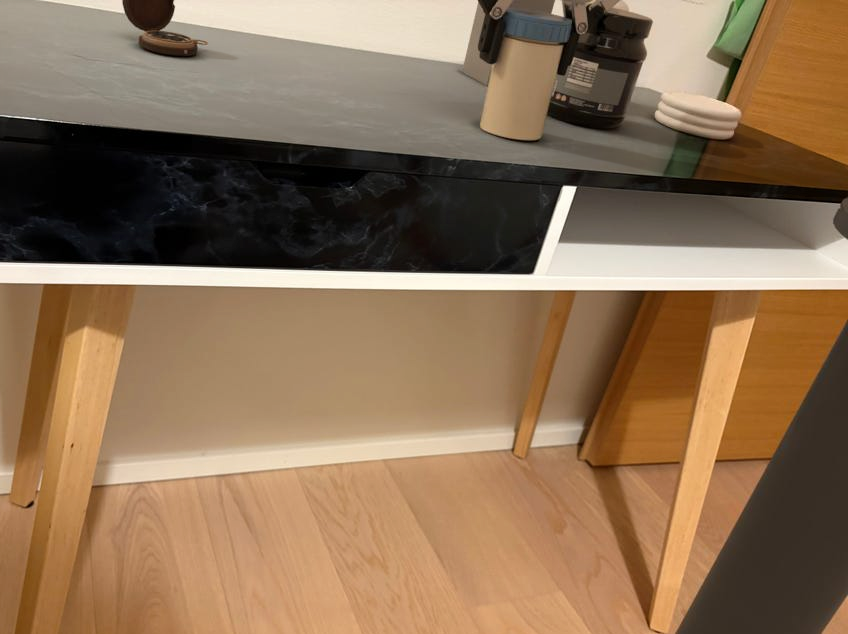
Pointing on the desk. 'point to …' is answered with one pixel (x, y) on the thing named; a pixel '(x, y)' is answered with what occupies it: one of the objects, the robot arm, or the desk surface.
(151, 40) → the compass
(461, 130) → the desk surface
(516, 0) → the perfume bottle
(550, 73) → the jar
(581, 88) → the supplement container
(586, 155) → the desk surface
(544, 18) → the lid
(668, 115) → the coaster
